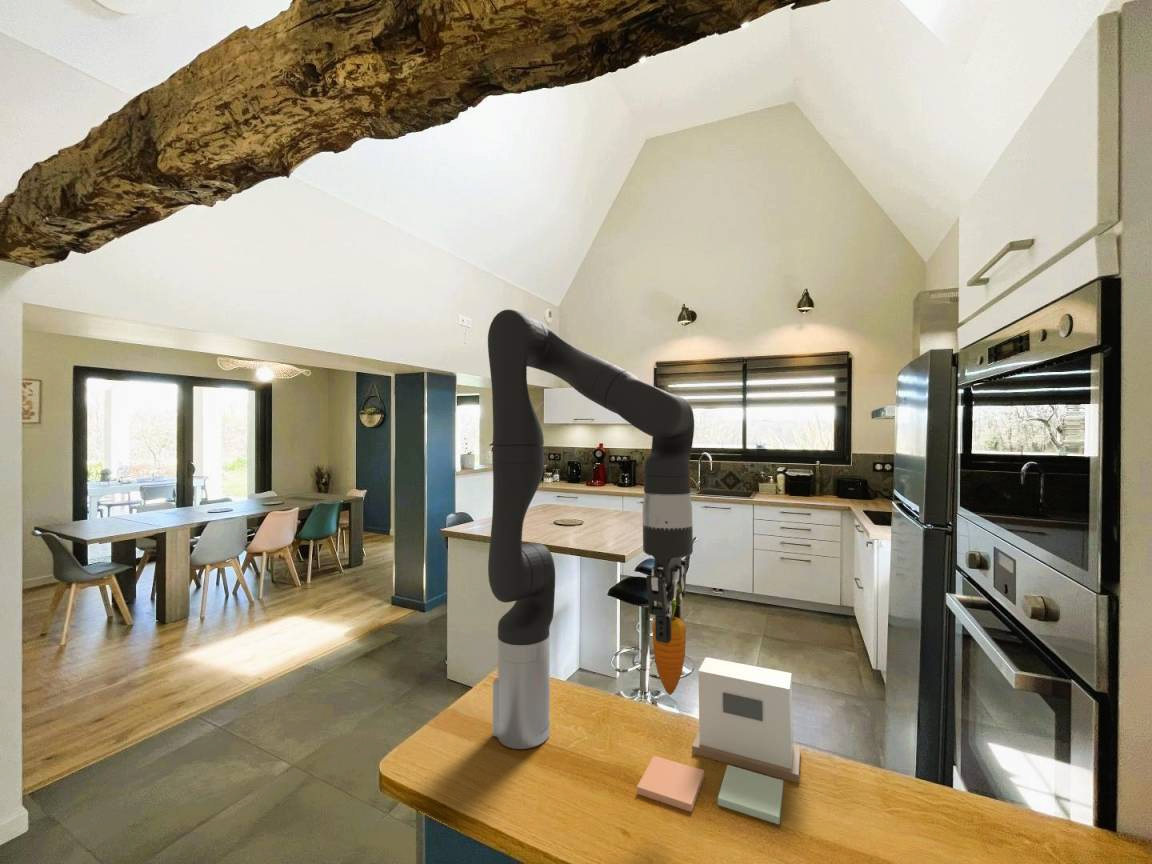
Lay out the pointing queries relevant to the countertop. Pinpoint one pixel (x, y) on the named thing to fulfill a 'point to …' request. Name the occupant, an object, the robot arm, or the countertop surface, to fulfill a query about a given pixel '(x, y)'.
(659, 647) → the carrot
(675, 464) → the robot arm
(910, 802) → the countertop surface
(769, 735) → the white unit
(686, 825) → the countertop surface
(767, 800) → the sage tile
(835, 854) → the countertop surface
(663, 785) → the terracotta tile
